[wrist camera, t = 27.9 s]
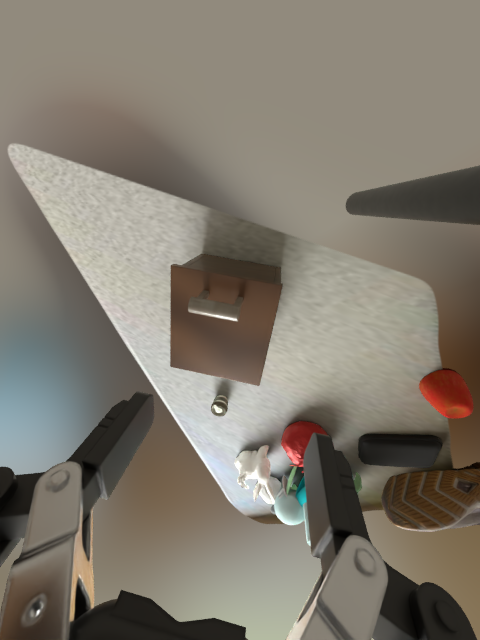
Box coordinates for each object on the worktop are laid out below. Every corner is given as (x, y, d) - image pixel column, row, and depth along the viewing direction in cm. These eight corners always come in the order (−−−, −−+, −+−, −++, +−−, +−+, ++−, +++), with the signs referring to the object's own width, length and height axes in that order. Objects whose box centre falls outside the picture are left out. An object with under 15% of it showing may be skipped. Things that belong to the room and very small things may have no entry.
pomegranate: (300, 406, 48) (305, 447, 40) (337, 429, 50) (349, 472, 41) (272, 431, 53) (271, 472, 44) (306, 451, 54) (312, 495, 46)
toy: (292, 568, 50) (287, 491, 63) (395, 552, 42) (364, 469, 55) (260, 542, 46) (262, 467, 60) (365, 521, 39) (340, 440, 52)
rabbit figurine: (272, 436, 53) (271, 480, 45) (288, 456, 56) (290, 502, 47) (230, 450, 57) (222, 492, 49) (246, 468, 60) (241, 512, 51)
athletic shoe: (396, 532, 43) (400, 555, 48) (579, 506, 38) (561, 535, 43) (368, 470, 53) (374, 495, 58) (511, 443, 48) (502, 473, 53)
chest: (205, 251, 38) (173, 269, 27) (280, 264, 37) (281, 289, 26) (200, 323, 44) (172, 363, 33) (265, 336, 43) (259, 382, 32)
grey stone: (290, 488, 61) (291, 510, 56) (262, 492, 63) (261, 514, 59) (276, 468, 58) (277, 489, 54) (248, 473, 61) (246, 494, 56)
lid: (173, 263, 26) (149, 275, 22) (282, 283, 25) (283, 300, 21) (172, 363, 33) (154, 389, 28) (259, 382, 32) (256, 413, 27)
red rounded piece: (435, 401, 35) (415, 364, 41) (431, 424, 38) (412, 386, 44) (489, 399, 33) (459, 361, 39) (479, 423, 36) (453, 384, 42)
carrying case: (434, 474, 48) (357, 469, 51) (427, 459, 50) (354, 455, 54) (449, 445, 42) (361, 442, 46) (439, 430, 45) (357, 428, 48)
